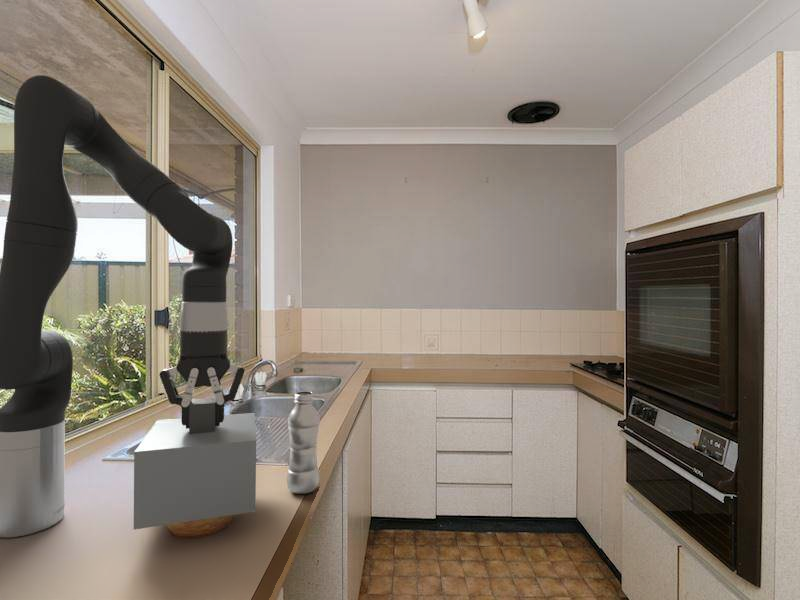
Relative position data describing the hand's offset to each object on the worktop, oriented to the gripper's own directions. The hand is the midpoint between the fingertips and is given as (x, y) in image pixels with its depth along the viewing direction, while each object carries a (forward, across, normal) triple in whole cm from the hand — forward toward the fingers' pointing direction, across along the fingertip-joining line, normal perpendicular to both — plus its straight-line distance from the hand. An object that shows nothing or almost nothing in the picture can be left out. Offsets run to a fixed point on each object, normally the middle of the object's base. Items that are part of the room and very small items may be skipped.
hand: (203, 425), depth 74 cm
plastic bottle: (+17, +18, +7) cm, 26 cm away
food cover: (+12, 0, 0) cm, 12 cm away
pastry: (+17, 0, 0) cm, 17 cm away
